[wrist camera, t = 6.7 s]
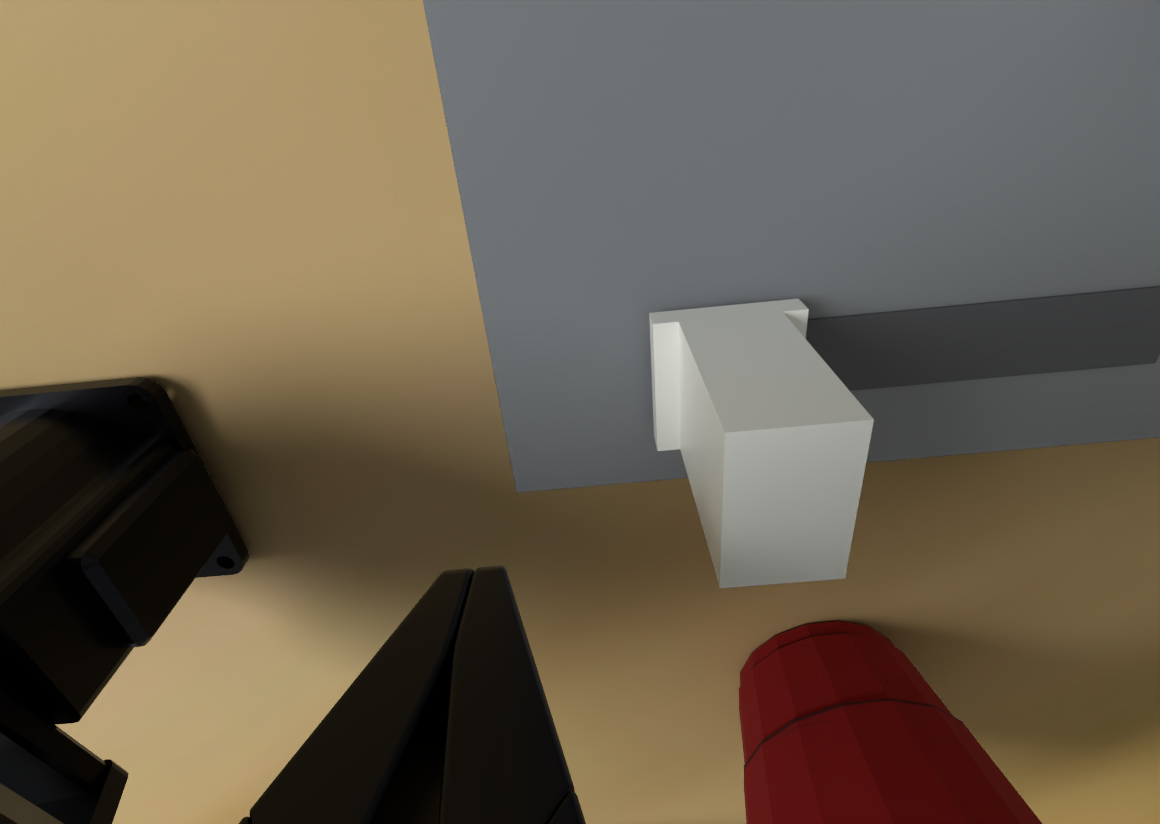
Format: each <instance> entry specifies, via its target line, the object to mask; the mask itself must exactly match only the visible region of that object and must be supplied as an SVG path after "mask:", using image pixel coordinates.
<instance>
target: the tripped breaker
mask: <svg viewBox="0 0 1160 824" xmlns="http://www.w3.org/2000/svg"><path fill="white" fill-rule="evenodd" d="M808 311H809V309H808V308H807V307H806V306H805V305H804V304H803V303H802V302H801V301H800V300H799V299H788V300H778V301H767V302H757V303H747V304H736V305H726V306H715V307H705V308H695V309H684V310H674V311H663V312H653V313H649V319H650V344H651V370H652V396H653V421H654V438H655V443H656V447H657V451H666V450H677V449H680V450H681V454H682V457H683V461H684V464H685V468H686V471H687V475H688V478H689V482H690V485H691V489H692V492H693V496H694V500H695V503H696V507H697V510H698V514H699V517H700V521H701V524H702V528H703V531H704V535H705V538H706V542H707V545H708V549H709V552H710V556H711V559H712V563H713V566H714V570H715V573H716V577H717V580H718V584H719V587H720V588H732V587H745V586H758V585H770V584H783V583H796V582H808V581H821V580H834V579H845V576H846V570H847V565H848V559H849V554H850V548H851V543H852V537H853V532H854V526H855V521H856V516H857V510H858V505H859V499H860V494H861V488H862V483H863V477H864V472H865V466H866V461H867V455H868V450H869V444H870V439H871V433H872V428H873V422H874V419H873V418H872V417H871V415H870V414H869V413H868V412H867V411H866V410H865V408H864V407H863V406H862V405H861V404H860V403H859V401H858V400H857V399H856V398H855V397H854V395H853V394H852V393H851V392H850V391H849V390H848V388H847V387H846V386H845V385H844V384H843V382H842V381H841V380H840V379H839V378H838V377H837V375H836V374H835V373H834V372H833V371H832V370H831V368H830V367H829V366H828V365H827V364H826V362H825V361H824V360H823V359H822V358H821V357H820V355H819V354H818V353H817V352H816V351H815V349H814V348H813V347H812V346H811V345H810V344H809V342H808V341H807V340H806V330H807V321H808Z"/></svg>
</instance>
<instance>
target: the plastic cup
mask: <svg viewBox="0 0 1160 824" xmlns="http://www.w3.org/2000/svg"><path fill="white" fill-rule="evenodd" d="M739 711H740V721H741V731H742V741H743V751H744V761H745V765H744V793H745V807H746V820H747V824H1042V823H1041V821H1040V820H1039V819H1038V818H1037V816H1036V815H1035V814H1034V813H1033V811H1032V810H1031V809H1030V808H1029V806H1028V805H1027V804H1026V802H1025V801H1024V800H1023V799H1022V797H1021V796H1020V795H1019V794H1018V792H1017V791H1016V790H1015V788H1014V787H1013V786H1012V785H1011V783H1010V782H1009V781H1008V780H1007V778H1006V777H1005V776H1004V775H1003V773H1002V772H1001V771H1000V769H999V768H998V767H997V766H996V764H995V763H994V762H993V761H992V759H991V758H990V757H989V755H988V754H987V753H986V752H985V750H984V749H983V748H982V747H981V745H980V744H979V743H978V742H977V740H976V739H975V738H974V736H973V735H972V734H971V733H970V731H969V730H968V729H967V728H966V726H965V725H964V724H963V722H962V721H960V720H958V719H957V718H955V717H953V715H952V714H951V713H950V711H949V710H948V709H947V708H946V706H945V705H944V704H943V703H942V701H941V700H940V699H939V697H938V696H937V695H936V694H935V692H934V691H933V690H932V689H931V687H930V686H929V685H928V683H927V682H926V681H925V680H924V678H923V677H922V676H921V675H920V673H919V672H918V671H917V670H916V668H915V667H914V666H913V664H912V663H911V662H910V661H909V659H908V658H907V657H906V656H905V654H904V653H903V652H902V651H900V650H899V649H897V648H895V646H894V645H893V644H892V643H891V641H890V640H889V639H888V638H887V637H885V636H883V635H882V634H880V633H878V632H877V631H875V630H873V629H872V628H870V627H869V626H865V625H860V624H854V623H848V622H842V621H832V622H823V623H813V624H805V625H802V626H800V627H797V628H794V629H792V630H789V631H786V632H784V633H781V634H778V635H776V636H774V637H773V638H771V639H770V640H769V641H767V642H766V643H765V644H763V645H762V646H760V647H759V648H758V649H756V650H755V651H754V652H752V654H751V655H750V657H749V659H748V660H747V662H746V664H745V665H744V667H743V668H742V670H741V672H740V688H739Z"/></svg>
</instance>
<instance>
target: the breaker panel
mask: <svg viewBox="0 0 1160 824" xmlns="http://www.w3.org/2000/svg"><path fill="white" fill-rule="evenodd" d="M423 4H424V9H425V14H426V19H427V25H428V30H429V35H430V40H431V46H432V51H433V56H434V61H435V67H436V72H437V77H438V82H439V88H440V93H441V98H442V103H443V109H444V114H445V119H446V124H447V130H448V135H449V140H450V145H451V151H452V156H453V161H454V166H455V172H456V177H457V182H458V187H459V193H460V198H461V203H462V208H463V214H464V219H465V224H466V229H467V235H468V240H469V245H470V250H471V256H472V261H473V266H474V271H475V277H476V282H477V287H478V292H479V298H480V303H481V308H482V313H483V319H484V324H485V329H486V334H487V340H488V345H489V350H490V355H491V361H492V366H493V371H494V376H495V382H496V387H497V392H498V397H499V403H500V408H501V413H502V418H503V424H504V429H505V434H506V439H507V445H508V450H509V455H510V460H511V466H512V471H513V476H514V481H515V487H516V492H517V493H518V492H529V491H541V490H553V489H564V488H576V487H588V486H599V485H611V484H623V483H634V482H646V481H658V480H669V479H681V478H688V475H687V471H686V468H685V464H684V461H683V457H682V454H681V450H680V449H677V450H666V451H657V447H656V443H655V438H654V421H653V396H652V370H651V344H650V319H649V313H653V312H663V311H674V310H684V309H695V308H705V307H715V306H726V305H736V304H747V303H757V302H767V301H778V300H788V299H799V300H800V301H801V302H802V303H803V304H804V305H805V306H806V307H807V308H808V309H809V311H808V321H807V330H806V340H807V341H808V342H809V344H810V345H811V346H812V347H813V348H814V349H815V351H816V352H817V353H818V354H819V355H820V357H821V358H822V359H823V360H824V361H825V362H826V364H827V365H828V366H829V367H830V368H831V370H832V371H833V372H834V373H835V374H836V375H837V377H838V378H839V379H840V380H841V381H842V382H843V384H844V385H845V386H846V387H847V388H848V390H849V391H850V392H851V393H852V394H853V395H854V397H855V398H856V399H857V400H858V401H859V403H860V404H861V405H862V406H863V407H864V408H865V410H866V411H867V412H868V413H869V414H870V415H871V417H872V418H873V419H874V422H873V428H872V433H871V439H870V444H869V450H868V455H867V461H866V463H867V462H879V461H890V460H902V459H914V458H925V457H937V456H949V455H960V454H972V453H984V452H995V451H1007V450H1018V449H1030V448H1042V447H1053V446H1065V445H1077V444H1088V443H1100V442H1112V441H1123V440H1135V439H1147V438H1158V437H1160V0H423Z"/></svg>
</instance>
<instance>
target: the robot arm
mask: <svg viewBox="0 0 1160 824" xmlns="http://www.w3.org/2000/svg"><path fill="white" fill-rule="evenodd" d="M138 394H139V395H141V396H143V397H144V398H145V399H146V400H147V401H148V403H146V402H144V401H142V400H141V399H140V398H139V396H138ZM228 557H229V558H228ZM230 558H231V559H230ZM248 559H249V553H248V550H247V548H246V546H245V544H244V542H243V540H242V539H241V537H240V535H239V533H238V531H237V529H236V527H235V525H234V523H233V521H232V519H231V517H230V515H229V513H228V511H227V509H226V507H225V505H224V504H223V502H222V500H221V498H220V496H219V494H218V492H217V490H216V488H215V486H214V484H213V482H212V480H211V478H210V476H209V474H208V472H207V470H206V469H205V467H204V465H203V463H202V461H201V459H200V457H199V455H198V453H197V451H196V449H195V447H194V445H193V443H192V441H191V439H190V437H189V436H188V434H187V432H186V430H185V428H184V426H183V424H182V422H181V420H180V418H179V416H178V414H177V412H176V410H175V408H174V406H173V404H172V402H171V401H170V399H169V397H168V395H167V393H166V392H165V390H164V389H163V388H162V386H160V385H159V384H158V383H156V382H155V381H153V380H150V379H147V378H128V379H117V380H107V381H96V382H86V383H75V384H65V385H54V386H44V387H33V388H23V389H12V390H2V391H0V824H112V822H113V819H114V816H115V813H116V810H117V808H118V805H119V802H120V799H121V796H122V793H123V790H124V787H125V784H126V781H127V778H128V773H127V771H125V770H124V769H123V768H121V767H120V766H119V765H117V764H116V763H115V762H113V761H112V760H104V761H103V760H102V759H100V758H99V757H98V756H96V755H95V754H94V753H92V752H91V751H89V750H88V749H87V748H85V747H84V746H83V745H81V744H80V743H79V742H77V741H76V740H75V739H73V738H72V737H71V736H69V735H68V734H66V733H65V732H64V731H62V730H61V729H60V728H58V727H57V726H56V725H54V724H67V723H75V722H78V721H80V719H81V718H82V717H83V715H84V714H85V713H86V711H87V710H88V708H89V707H90V706H91V704H92V703H93V702H94V700H95V699H96V698H97V696H98V695H99V694H100V692H101V691H102V690H103V688H104V687H105V686H106V684H107V683H108V682H109V680H110V679H111V678H112V676H113V675H114V673H115V672H116V671H117V669H118V668H119V667H120V665H121V664H122V663H123V661H124V660H125V659H126V657H127V656H128V655H129V653H130V652H131V651H132V649H133V648H134V647H140V646H145V645H146V644H147V643H148V642H149V641H150V640H151V638H152V637H153V636H154V634H155V633H156V632H157V630H158V629H159V627H160V626H161V625H162V623H163V622H164V620H165V619H166V618H167V616H168V615H169V614H170V612H171V611H172V609H173V608H174V607H175V605H176V604H177V603H178V601H179V600H180V598H181V597H182V596H183V594H184V593H185V591H186V590H187V589H188V587H189V586H190V585H191V583H192V582H193V580H194V579H195V578H197V577H209V576H221V575H233V574H237V573H239V572H240V571H241V570H242V569H243V567H244V566H245V564H246V563H247V561H248ZM239 824H586V823H585V819H584V816H583V813H582V810H581V807H580V803H579V800H578V797H577V795H576V793H575V791H574V786H573V782H572V779H571V776H570V773H569V770H568V766H567V763H566V760H565V757H564V754H563V750H562V747H561V744H560V741H559V738H558V734H557V731H556V728H555V725H554V722H553V718H552V715H551V712H550V709H549V706H548V703H547V699H546V696H545V693H544V690H543V687H542V683H541V680H540V677H539V674H538V671H537V667H536V664H535V661H534V658H533V655H532V651H531V648H530V645H529V642H528V639H527V635H526V632H525V629H524V626H523V623H522V619H521V616H520V613H519V610H518V607H517V604H516V600H515V597H514V594H513V591H512V588H511V584H510V581H509V578H508V575H507V572H506V569H505V568H504V567H503V566H492V567H481V568H477V569H476V570H475V571H474V570H472V569H458V570H447V571H444V572H443V573H442V574H441V575H440V576H439V577H438V578H437V579H436V581H435V582H434V583H433V584H432V586H431V587H430V588H429V589H428V590H427V592H426V593H425V594H424V595H423V597H422V598H421V599H420V600H419V602H418V603H417V604H416V605H415V607H414V608H413V609H412V610H411V612H410V613H409V614H408V615H407V616H406V618H405V619H404V620H403V621H402V623H401V624H400V625H399V626H398V628H397V629H396V630H395V631H394V633H393V634H392V635H391V636H390V637H389V639H388V640H387V641H386V642H385V644H384V645H383V646H382V647H381V649H380V650H379V651H378V652H377V654H376V655H375V656H374V657H373V659H372V660H371V661H370V662H369V663H368V665H367V666H366V667H365V668H364V670H363V671H362V672H361V673H360V675H359V676H358V677H357V678H356V680H355V681H354V682H353V683H352V684H351V686H350V687H349V688H348V689H347V691H346V692H345V693H344V694H343V696H342V697H341V698H340V699H339V701H338V702H337V703H336V704H335V706H334V707H333V708H332V709H331V710H330V712H329V713H328V714H327V715H326V717H325V718H324V719H323V720H322V722H321V723H320V724H319V725H318V727H317V728H316V729H315V730H314V731H313V733H312V734H311V735H310V736H309V738H308V739H307V740H306V741H305V743H304V744H303V745H302V746H301V748H300V749H299V750H298V751H297V753H296V754H295V755H294V756H293V757H292V759H291V760H290V761H289V762H288V764H287V765H286V766H285V767H284V769H283V770H282V771H281V772H280V774H279V775H278V776H277V777H276V778H275V780H274V781H273V782H272V783H271V785H270V786H269V787H268V788H267V790H266V791H265V792H264V793H263V795H262V796H261V797H260V798H259V800H258V801H257V802H256V803H255V804H254V806H253V807H252V808H251V810H250V817H244V818H243V819H242V820H241V821H240V823H239Z"/></svg>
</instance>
